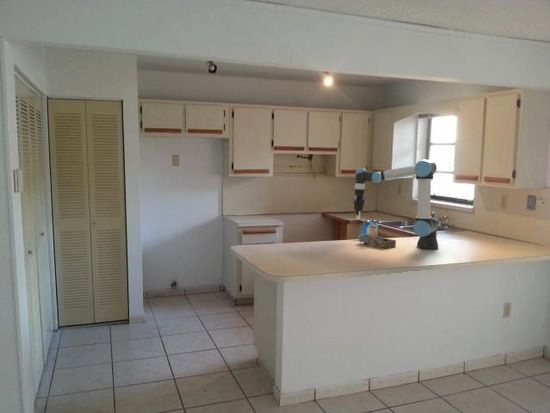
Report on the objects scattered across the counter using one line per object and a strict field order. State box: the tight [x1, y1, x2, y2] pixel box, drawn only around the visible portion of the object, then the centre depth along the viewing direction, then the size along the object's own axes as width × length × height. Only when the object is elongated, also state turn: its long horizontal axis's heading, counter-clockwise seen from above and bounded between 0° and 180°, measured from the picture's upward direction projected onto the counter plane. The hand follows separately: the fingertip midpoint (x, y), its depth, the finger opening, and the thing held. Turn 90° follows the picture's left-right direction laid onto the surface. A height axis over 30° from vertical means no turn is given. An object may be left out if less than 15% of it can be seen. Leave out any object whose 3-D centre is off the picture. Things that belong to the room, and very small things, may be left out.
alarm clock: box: [360, 219, 380, 235], centre depth 375 cm, size 13×6×15 cm, turn 113°
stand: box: [366, 237, 397, 250], centre depth 342 cm, size 15×14×5 cm
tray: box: [358, 234, 386, 244], centre depth 347 cm, size 16×13×5 cm
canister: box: [369, 224, 378, 239], centre depth 347 cm, size 6×6×12 cm
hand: (358, 219), depth 356 cm, fingers closed
